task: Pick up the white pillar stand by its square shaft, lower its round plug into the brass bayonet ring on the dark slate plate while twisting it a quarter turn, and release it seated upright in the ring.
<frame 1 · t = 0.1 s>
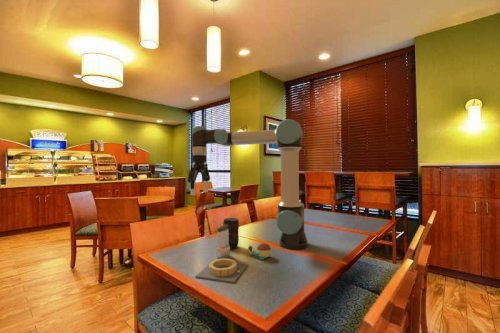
hand: (199, 193, 128), 28 cm above the table, fingers open, 13 cm apart
camera lens: (231, 247, 123), on the table
mount: (223, 271, 96), on the table
white pillar stand: (223, 256, 111), on the table
figurine: (260, 257, 111), on the table
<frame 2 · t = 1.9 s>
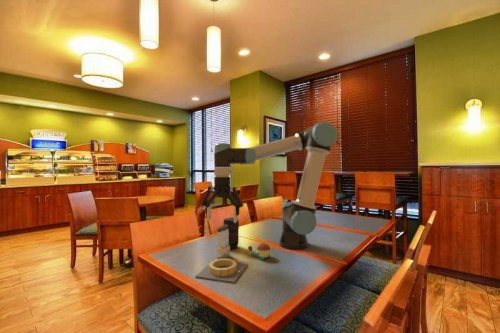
hand: (222, 221, 111), 17 cm above the table, fingers open, 13 cm apart
nothing on the table moved.
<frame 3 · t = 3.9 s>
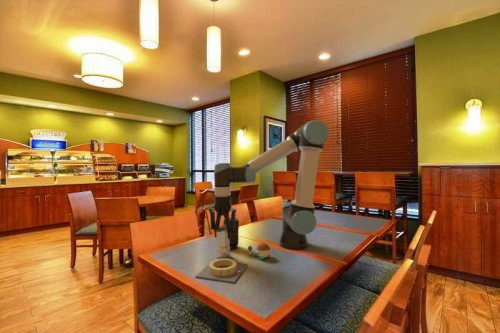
hand: (223, 244, 111), 6 cm above the table, fingers closed on white pillar stand, 4 cm apart
white pillar stand: (223, 256, 111), on the table, touching gripper
everything else where it was.
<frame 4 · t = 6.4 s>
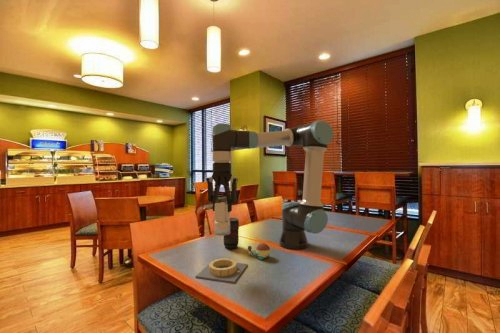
hand: (222, 219, 96), 21 cm above the table, fingers closed on white pillar stand, 4 cm apart
white pillar stand: (222, 233, 96), point 16 cm above the table, touching gripper
everything else where it was.
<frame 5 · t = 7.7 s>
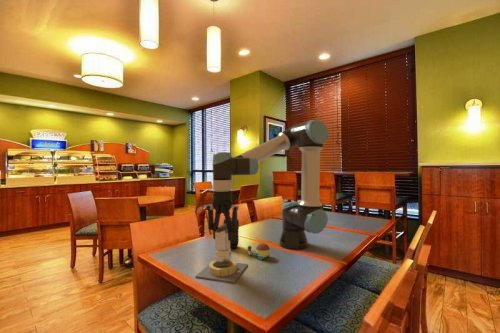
hand: (222, 247, 96), 10 cm above the table, fingers closed on white pillar stand, 4 cm apart
white pillar stand: (222, 261, 96), point 4 cm above the table, touching gripper
everything else where it was.
when the fingers open (7 cm above the table, at t = 8.7 s): white pillar stand stays where it is, resting on mount.
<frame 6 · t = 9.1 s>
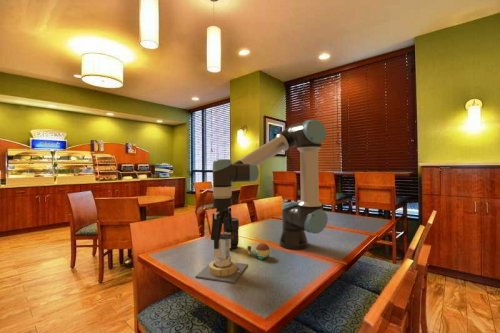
hand: (222, 251, 96), 8 cm above the table, fingers open, 9 cm apart
white pillar stand: (223, 269, 96), point 1 cm above the table, touching mount
everything else where it was.
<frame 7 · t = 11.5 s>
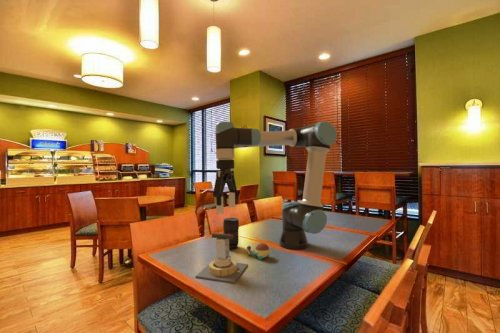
hand: (226, 210, 98), 24 cm above the table, fingers open, 13 cm apart
nothing on the table moved.
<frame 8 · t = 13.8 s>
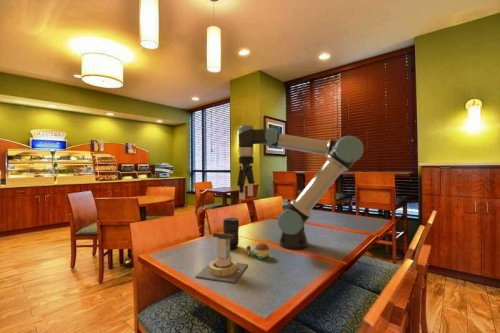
hand: (246, 197, 120), 27 cm above the table, fingers open, 13 cm apart
nothing on the table moved.
at the end: white pillar stand 0.1 cm off-centre on the mount, point 0.7 cm above the mount's base; white pillar stand tilted 1°; the gripper is holding nothing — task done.
